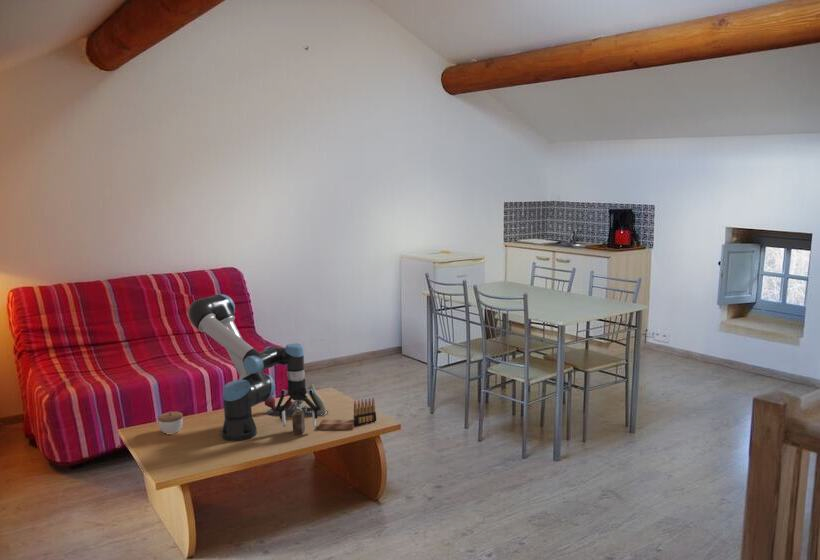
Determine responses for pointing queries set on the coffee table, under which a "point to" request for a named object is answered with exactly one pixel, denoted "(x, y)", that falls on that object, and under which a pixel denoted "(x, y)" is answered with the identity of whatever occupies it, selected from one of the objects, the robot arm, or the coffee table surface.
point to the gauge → (298, 422)
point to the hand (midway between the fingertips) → (299, 425)
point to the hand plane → (296, 406)
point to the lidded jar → (170, 422)
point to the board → (336, 424)
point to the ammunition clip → (364, 412)
